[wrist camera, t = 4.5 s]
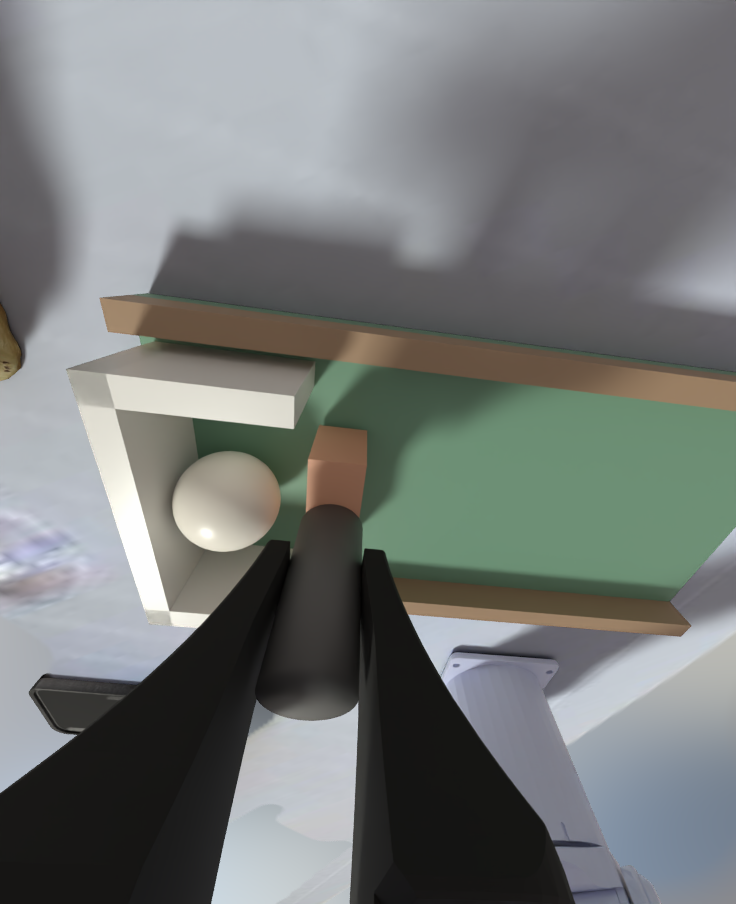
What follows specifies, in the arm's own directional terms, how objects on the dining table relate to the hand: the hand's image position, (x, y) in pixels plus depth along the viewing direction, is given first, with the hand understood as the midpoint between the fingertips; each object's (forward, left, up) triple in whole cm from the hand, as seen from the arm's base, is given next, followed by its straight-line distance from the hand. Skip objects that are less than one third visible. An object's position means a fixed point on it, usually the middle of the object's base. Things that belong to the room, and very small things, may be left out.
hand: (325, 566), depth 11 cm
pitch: (0, -6, -6) cm, 9 cm away
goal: (0, +4, -5) cm, 6 cm away
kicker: (0, 0, -5) cm, 5 cm away
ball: (0, +4, -3) cm, 5 cm away
